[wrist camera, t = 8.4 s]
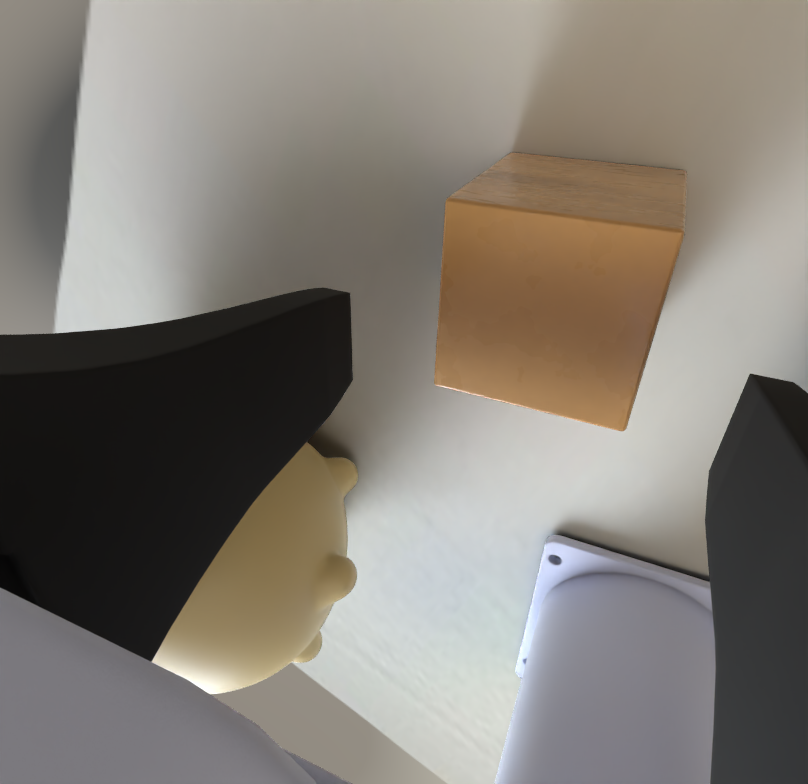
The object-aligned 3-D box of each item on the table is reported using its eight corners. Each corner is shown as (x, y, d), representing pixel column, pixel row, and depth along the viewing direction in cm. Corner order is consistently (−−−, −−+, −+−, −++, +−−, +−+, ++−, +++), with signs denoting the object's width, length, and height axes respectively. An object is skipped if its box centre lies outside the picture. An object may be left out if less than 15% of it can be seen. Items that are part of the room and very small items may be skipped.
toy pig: (346, 350, 26) (83, 324, 22) (429, 588, 18) (42, 632, 14) (296, 482, 32) (80, 485, 27) (342, 706, 24) (50, 765, 20)
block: (641, 332, 17) (625, 433, 13) (491, 303, 18) (432, 386, 14) (688, 169, 14) (685, 230, 10) (509, 151, 16) (444, 197, 12)
